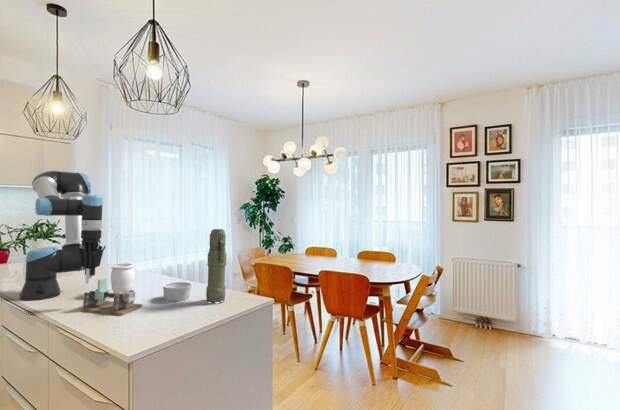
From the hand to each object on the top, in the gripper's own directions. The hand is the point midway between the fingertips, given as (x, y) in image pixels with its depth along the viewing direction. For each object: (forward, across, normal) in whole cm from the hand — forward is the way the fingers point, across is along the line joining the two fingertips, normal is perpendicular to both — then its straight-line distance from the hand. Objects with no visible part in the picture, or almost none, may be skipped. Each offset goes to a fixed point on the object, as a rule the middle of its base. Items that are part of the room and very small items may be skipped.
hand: (89, 282), depth 142 cm
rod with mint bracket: (+11, +12, 0) cm, 16 cm away
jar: (+11, -1, +21) cm, 24 cm away
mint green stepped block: (+7, +6, 0) cm, 9 cm away
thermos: (+11, +49, +23) cm, 55 cm away
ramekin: (+11, +29, +22) cm, 38 cm away
